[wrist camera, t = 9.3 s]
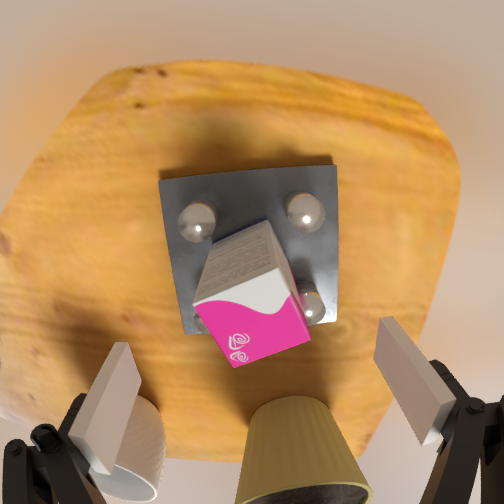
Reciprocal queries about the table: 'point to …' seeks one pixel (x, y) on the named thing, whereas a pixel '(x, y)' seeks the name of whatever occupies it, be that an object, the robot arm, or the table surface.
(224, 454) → the table surface
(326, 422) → the potted cactus
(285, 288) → the supplement box
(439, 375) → the robot arm
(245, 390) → the table surface
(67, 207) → the table surface
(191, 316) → the chassis
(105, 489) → the mug
